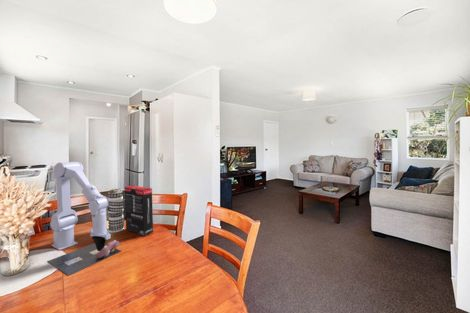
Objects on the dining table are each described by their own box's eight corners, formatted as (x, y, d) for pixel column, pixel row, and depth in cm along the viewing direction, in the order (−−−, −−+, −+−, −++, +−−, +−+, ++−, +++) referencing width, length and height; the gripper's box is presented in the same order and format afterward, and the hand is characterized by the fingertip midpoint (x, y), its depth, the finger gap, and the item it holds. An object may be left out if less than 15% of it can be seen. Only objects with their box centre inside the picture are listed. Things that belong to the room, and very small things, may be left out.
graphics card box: (154, 232, 124) (153, 187, 123) (144, 236, 118) (143, 189, 116) (134, 227, 132) (133, 184, 130) (124, 231, 126) (123, 186, 124)
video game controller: (102, 262, 94) (107, 250, 94) (93, 257, 95) (99, 245, 94) (117, 251, 104) (122, 240, 103) (109, 247, 105) (115, 235, 104)
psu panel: (47, 261, 93) (47, 261, 93) (99, 241, 112) (99, 241, 112) (68, 275, 83) (68, 275, 83) (121, 251, 102) (121, 250, 102)
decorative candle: (114, 226, 133) (113, 187, 131) (128, 227, 132) (127, 188, 130) (104, 232, 124) (102, 190, 122) (118, 233, 123) (117, 191, 121)
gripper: (82, 222, 100) (83, 249, 101) (98, 228, 93) (99, 258, 93) (98, 217, 106) (99, 243, 107) (114, 223, 99) (115, 251, 99)
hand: (100, 250), depth 100 cm, fingers closed
